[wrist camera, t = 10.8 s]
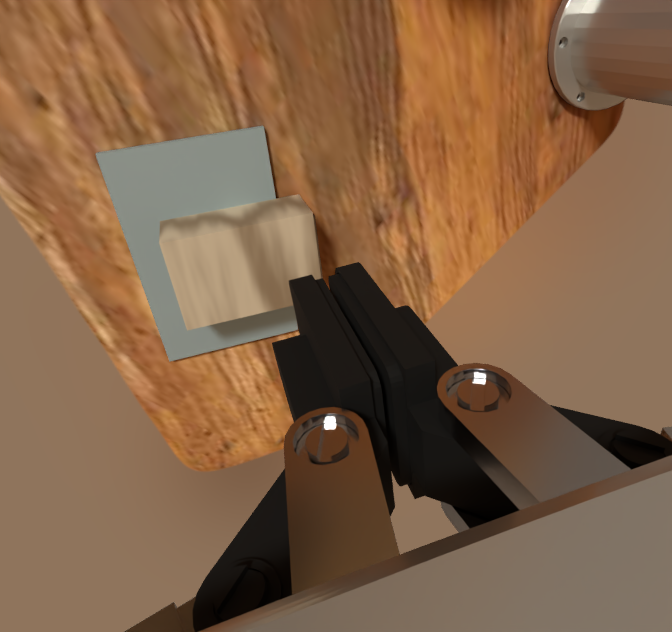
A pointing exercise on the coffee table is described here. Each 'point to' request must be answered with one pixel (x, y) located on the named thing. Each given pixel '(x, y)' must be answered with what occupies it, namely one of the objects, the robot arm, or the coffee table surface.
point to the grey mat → (183, 200)
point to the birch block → (239, 258)
